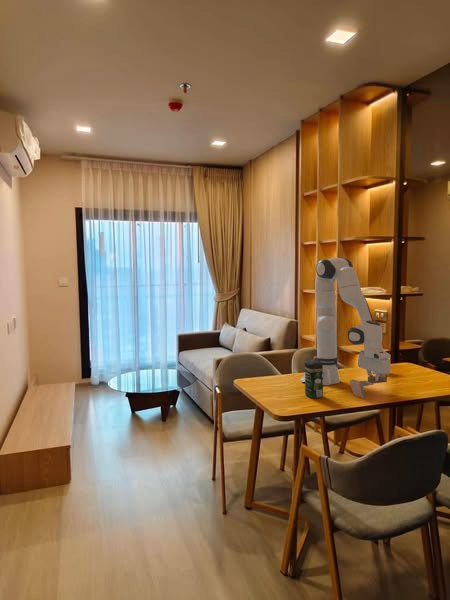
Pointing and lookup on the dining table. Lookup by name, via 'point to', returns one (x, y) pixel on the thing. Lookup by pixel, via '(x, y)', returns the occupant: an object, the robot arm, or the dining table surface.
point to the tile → (357, 388)
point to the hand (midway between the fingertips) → (373, 379)
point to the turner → (371, 380)
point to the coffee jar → (313, 379)
